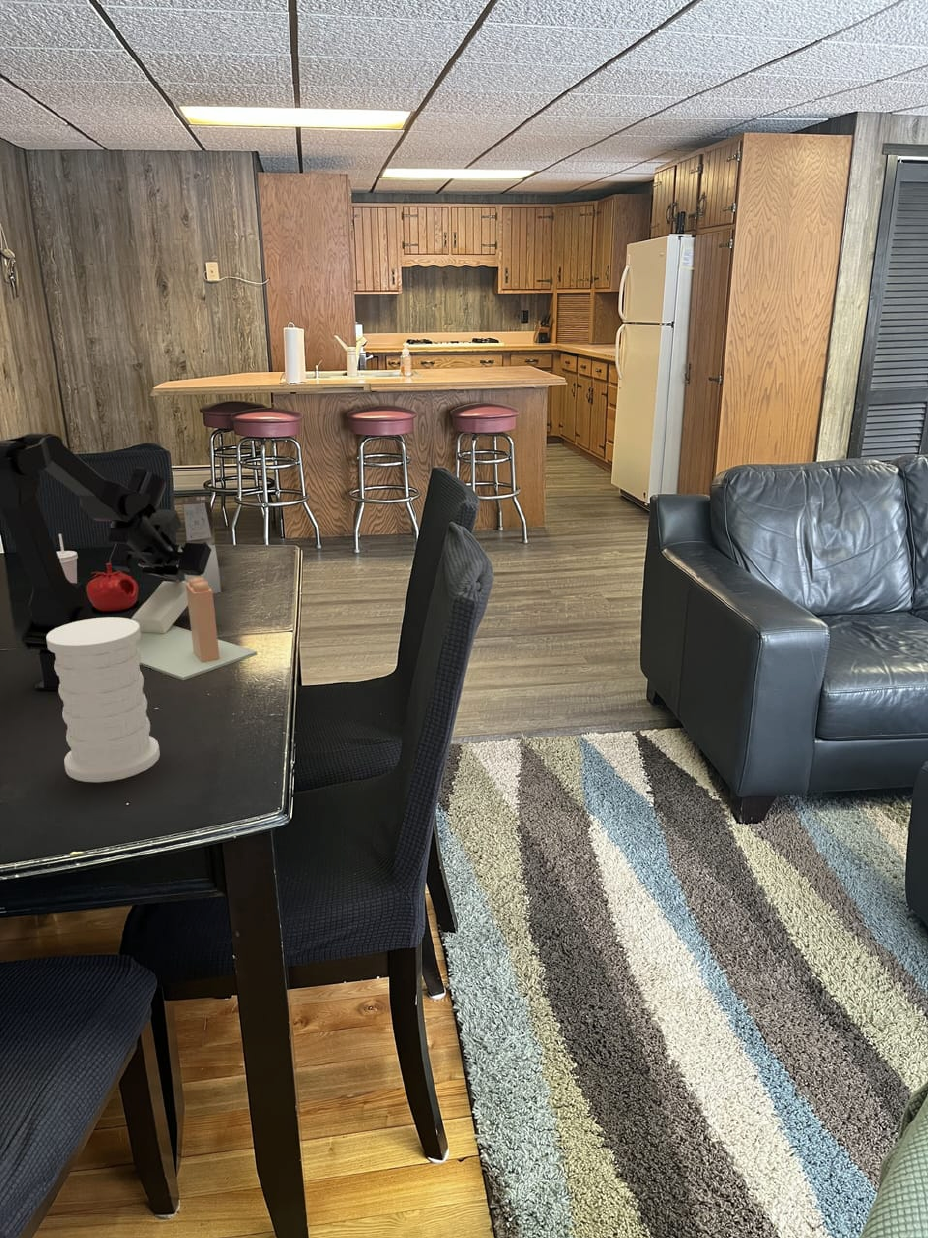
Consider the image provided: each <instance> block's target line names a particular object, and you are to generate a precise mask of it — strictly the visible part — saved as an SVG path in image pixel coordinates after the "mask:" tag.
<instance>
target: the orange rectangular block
mask: <svg viewBox="0 0 928 1238" xmlns="http://www.w3.org/2000/svg"><path fill="white" fill-rule="evenodd" d="M186 590H187V598H188V606H187V607H188V612H189V613H188V614H189V615H188V616H189V622H190V624H189V625H190V631H191V633H192V641H193V650H194V652H195V654H196V655H197V657H198V658H199V659H200V661H201V662H205V661H210V660H216V659H220V658H219V649H218V632H217V631H218V630H217V621H216V613H215V612H216V611H215V604H214V596H213V594H214V593H212V590H211V589H210V588H209V587H208V582H207V581H204V578H203V577H192V578H189V584H188V585H186Z"/></svg>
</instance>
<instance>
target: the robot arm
mask: <svg viewBox="0 0 928 1238" xmlns="http://www.w3.org/2000/svg"><path fill="white" fill-rule="evenodd" d="M41 470H45V471H46V472H47V473H48V474H50V475H51V476H52V477H53V478H54V479H56V480H57V481H58V482H60V483H61V484H62V485H63V486H65V487H66V488H67V489H69V490H70V491H71V492H72V493H74V494H75V495H76V496H77V497H78V499H79V501H80V507H81V508H82V509H83V510H84V511H85V513H86V514H87V515H88V516H89V518H91V520H93V521H97V522H111V524H110V527H109V529H108V530H109V533H108V535H107V541H108V543H112V544H114V543H115V545H114V547H113V551H112V553H111V555H110V558H109V563H110V564H111V566H112V567H111V568H113V569H114V570H115V572H117V571H122V572H127V573H129V572H130V571H131V566H130V561H131V559H134V560H135V559H136V560H137V559H138V562H137V564H138V567H142V573H143V574H144V575H151V576H156V577H160V578H165V579H169V580H172V581H176V582H177V581H182V580H183V579H184V574H186V575H194V576H200V575H202V574H203V573H204V571H205V568H206V565H207V562H208V559H209V556H210V553H211V548H210V547H209V546H208V544H207V543H206V542H196V541H189V542H187V541H186V542H185V544H184V547H183V546H181V545H180V544H175V543H176V542H177V538H176V537H175V535H176V533H177V532H178V531H179V530H180V529H181V528H182V526H183V523H182V521H181V518H180V515H179V514H178V511H177V510H176V509H163V508H162V509H160V508H159V505H160V503H161V500H162V498H163V495H164V493H165V490H166V487H167V481H166V479H164V477H161V476H160V475H158V474H156V473H154V472H151V471H148V470H147V469H146V468H145V467H134V468H133V471H132V474H131V477H130V478H131V479H130V480H129V483H128V486H127V487H126V486H125V485H123V484H121V483H119V482H116V481H112V480H110V479H106V478H104V477H103V476H101V475H100V474H99V473H98V472H96V471H95V470H94V468H92V467H91V466H89V465H88V464H87V463H86V462H85V461H84V460H83V459H81V458H80V457H79V456H78V455H77V454H75V452H73V451H72V450H71V449H70V448H69V447H68V446H66V445H65V444H64V443H63V440H62V439H61V438H60V436H58V435H55V434H54V433H30V432H29V433H28V434H25V435H22V436H19V437H16V438H10V439H5V440H4V439H3V440H0V510H1V513H2V514H3V517H4V520H5V523H6V525H7V527H8V530H9V532H10V534H11V537H12V540H13V543H14V545H15V547H16V550H17V552H18V554H19V557H20V560H21V562H22V565H23V566H24V571H25V572H26V575H27V577H28V579H29V582H30V584H31V587H32V592H31V595H30V599H29V603H28V608H29V611H30V618H29V621H28V623H27V625H26V628H25V630H24V632H23V634H22V637H21V642H22V644H23V646H24V648H25V650H35V651H36V650H37V651H39V652H38V653H37V654H38V660H39V664H40V672H41V676H42V677H41V678H42V681H40V682H39V683H37V684H36V685H34V690H37V691H39V690H41V691H58V689H59V684H60V680H59V676H58V675H57V674H56V671H55V669H54V664H55V660H56V656H55V653H53V652H51V651H50V650H49V649H48V646H47V640H46V635H47V634H48V633H49V632H50V631H52V630H54V629H55V628H57V627H60V626H62V625H65V624H69V623H72V622H76V621H81V620H87V619H94V616H93V611H92V607H93V604H92V603H91V602H90V600H89V598H88V595H87V591H86V586H85V585H84V584H83V583H79V582H77V583H71V582H70V581H68V580H67V578H66V576H65V573H64V571H63V568H62V565H61V563H60V560H59V558H58V555H57V552H58V551H57V550H56V547H55V545H54V542H53V539H52V537H51V535H50V531H49V529H48V526H47V524H46V521H45V518H44V515H43V513H42V510H41V508H40V504H39V503H38V499H37V496H36V494H37V490H38V486H39V483H40V479H41V475H40V471H41ZM129 570H130V571H129ZM128 571H129V572H128ZM183 581H184V580H183Z"/></svg>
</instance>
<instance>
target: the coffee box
mask: <svg viewBox="0 0 928 1238" xmlns="http://www.w3.org/2000/svg"><path fill="white" fill-rule="evenodd" d="M181 504H182V513H183V521H184V530H185V537H186V538H185V540H186V542H189V541H196V542H206V543H207V544H208V546H210V545H215V546H216V541H215V539H216V538H215V530H214V522H213V521H214V519H213V511H212V510H213V509H212V501H211V498H210V495H197V496H196V495H194V496H186V497H182V502H181Z"/></svg>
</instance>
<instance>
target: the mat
mask: <svg viewBox="0 0 928 1238" xmlns="http://www.w3.org/2000/svg"><path fill="white" fill-rule="evenodd" d="M217 639H218V638H217ZM136 644H137V648H138V649H139V652H140V655H141V660H140V661H141V662H140V664H139V666H142V665H143V666H142V667H146V668H148V669H150V668H151V670H154V671H155V672H159V673H160V674H161V673H162V674H164V675H167V676H170V677H173V678H174V679H178V680H181V681H185V680H186V681H187V680H188V679H192V678H194V677H197V676H200V675H203V674H206V673H209V672H211V671H214V670H217V669H220V668H223V667H224V666H228V665H231V664H233V663H235V662H236V663H237V662H239V661H242V660H245V659H247V658H250V657H253V656H256V655H258V651H256V650H253V649H250V648H248V647H247V648H246V647H245V646H244V647H243V646H241V645H237V644H234V643H230V642H227V641H224V640H221V639H218V649H219V658H220V659H216V660H210V661H205V662H201V661H200V659H199V658H198V657H197V655H196V654H195V652H194V650H193V641H192V633H191V629H190V630H189V629H187V628H182V627H179V626H176V625H174V624H172V626H171V627H170V628H169V629H168V631H167V632H166V633H152V632H141V637H140V639H139V640H138V641H136Z"/></svg>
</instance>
